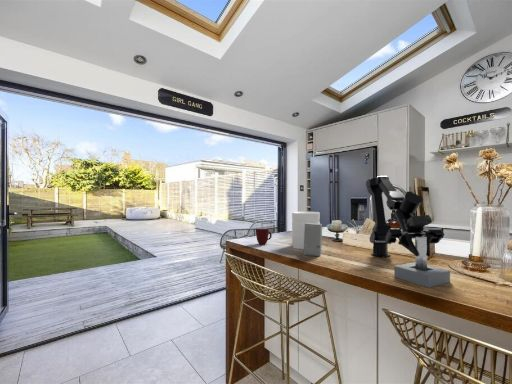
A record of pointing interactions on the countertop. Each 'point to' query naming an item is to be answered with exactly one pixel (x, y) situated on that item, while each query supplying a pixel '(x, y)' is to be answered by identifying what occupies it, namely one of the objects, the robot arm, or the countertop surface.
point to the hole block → (422, 275)
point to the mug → (263, 235)
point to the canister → (302, 226)
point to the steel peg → (421, 253)
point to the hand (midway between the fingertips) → (423, 255)
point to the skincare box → (313, 239)
